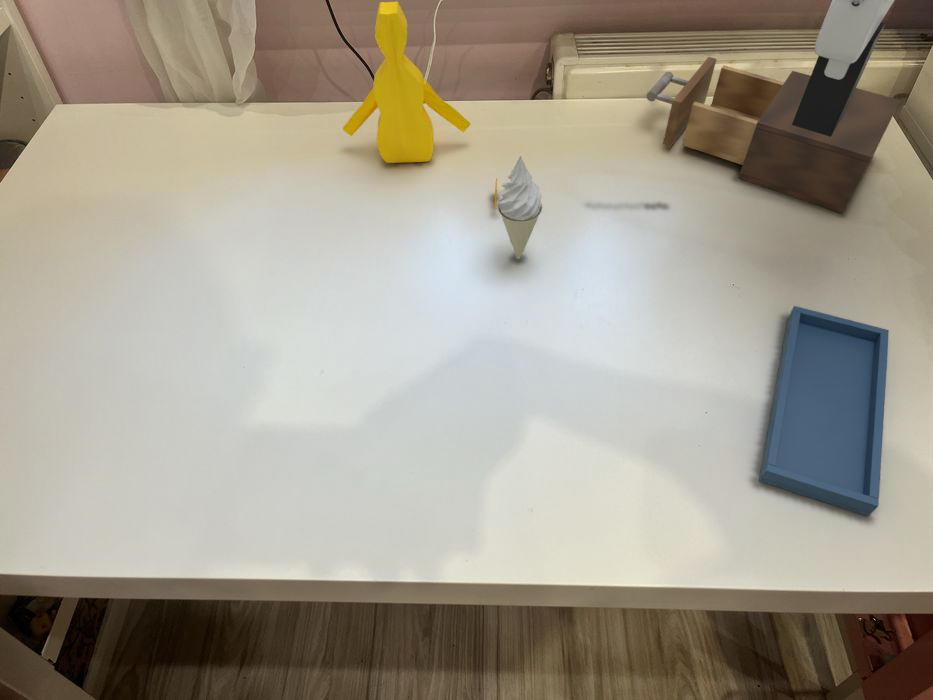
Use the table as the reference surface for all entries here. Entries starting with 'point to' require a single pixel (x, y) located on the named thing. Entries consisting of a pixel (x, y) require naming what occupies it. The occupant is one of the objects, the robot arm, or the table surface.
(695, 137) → the drawer
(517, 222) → the ice cream cone
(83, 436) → the table surface
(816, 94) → the block
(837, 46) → the robot arm
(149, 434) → the table surface
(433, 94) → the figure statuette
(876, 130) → the small wooden cabinet
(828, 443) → the tray
